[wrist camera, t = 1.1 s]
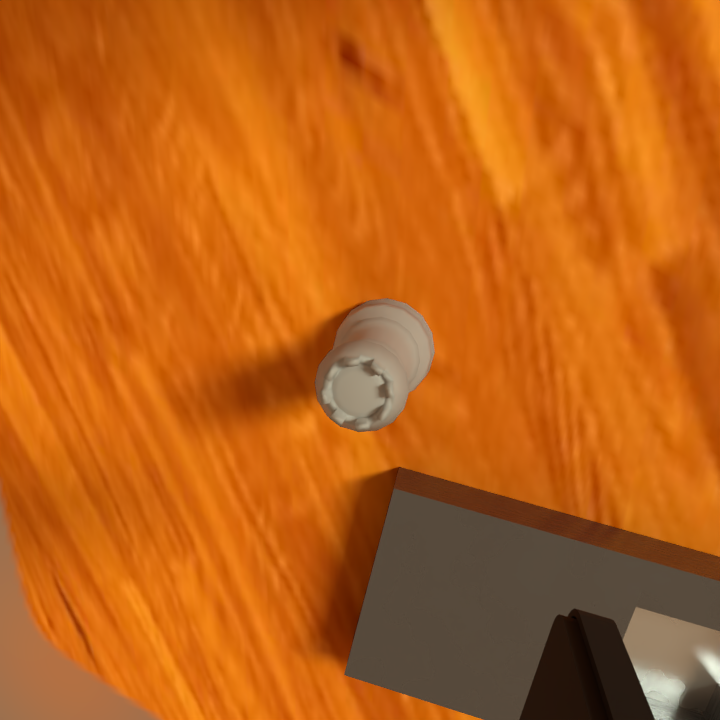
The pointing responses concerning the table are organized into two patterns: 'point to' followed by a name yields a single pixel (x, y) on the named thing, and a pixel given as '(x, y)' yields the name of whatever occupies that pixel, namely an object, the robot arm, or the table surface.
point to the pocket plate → (527, 602)
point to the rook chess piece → (374, 365)
